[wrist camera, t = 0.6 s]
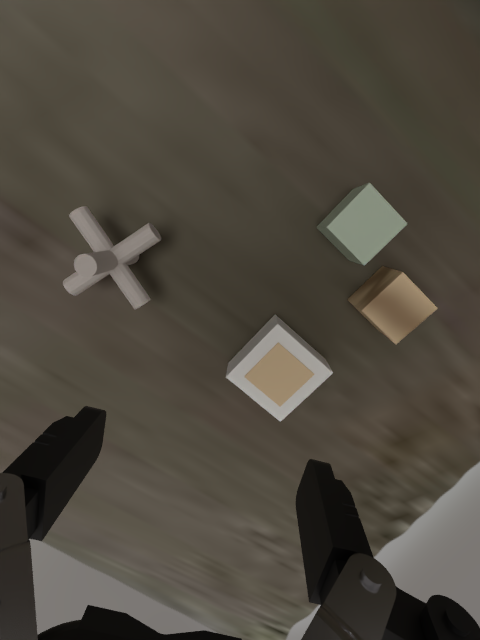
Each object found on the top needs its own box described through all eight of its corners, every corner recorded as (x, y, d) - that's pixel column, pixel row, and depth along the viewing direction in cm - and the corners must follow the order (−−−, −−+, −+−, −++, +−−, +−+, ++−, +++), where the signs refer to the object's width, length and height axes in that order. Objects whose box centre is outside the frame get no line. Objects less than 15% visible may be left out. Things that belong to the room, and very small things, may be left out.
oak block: (382, 265, 35) (402, 272, 30) (412, 297, 35) (437, 308, 31) (346, 299, 36) (361, 310, 31) (377, 329, 37) (396, 344, 32)
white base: (274, 313, 37) (277, 324, 33) (324, 358, 38) (333, 373, 34) (228, 361, 38) (225, 377, 34) (277, 403, 40) (280, 422, 36)
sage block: (352, 189, 33) (369, 182, 28) (385, 224, 34) (407, 223, 29) (316, 227, 34) (326, 227, 29) (348, 260, 35) (364, 265, 30)
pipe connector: (194, 271, 35) (173, 287, 26) (122, 316, 37) (76, 347, 27) (140, 187, 33) (95, 170, 24) (66, 239, 35) (-4, 243, 25)
